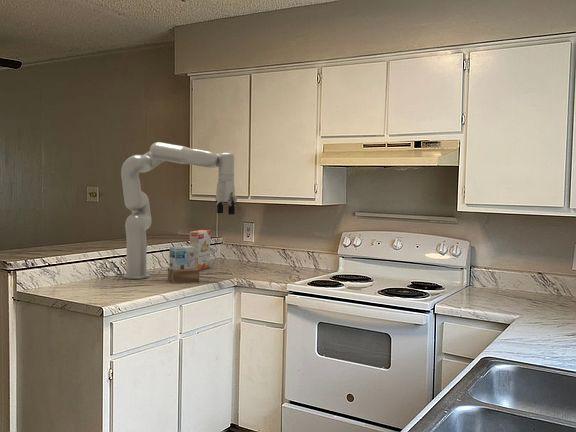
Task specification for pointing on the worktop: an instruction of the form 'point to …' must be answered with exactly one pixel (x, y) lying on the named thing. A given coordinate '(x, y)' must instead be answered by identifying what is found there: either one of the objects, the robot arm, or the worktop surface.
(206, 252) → the cracker box
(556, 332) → the worktop surface
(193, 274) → the walnut block
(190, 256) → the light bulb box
